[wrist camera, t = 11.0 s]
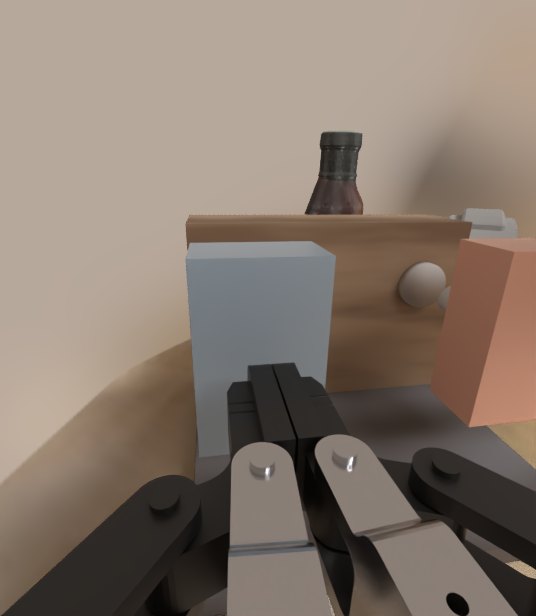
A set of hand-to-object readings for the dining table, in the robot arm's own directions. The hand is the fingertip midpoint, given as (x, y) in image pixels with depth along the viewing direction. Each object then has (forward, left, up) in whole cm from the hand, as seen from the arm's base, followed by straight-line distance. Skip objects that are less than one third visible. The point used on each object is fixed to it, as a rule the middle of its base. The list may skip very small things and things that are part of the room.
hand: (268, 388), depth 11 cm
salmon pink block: (-12, +4, -4) cm, 14 cm away
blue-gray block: (-3, -4, -4) cm, 6 cm away
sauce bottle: (-26, -14, -9) cm, 31 cm away
